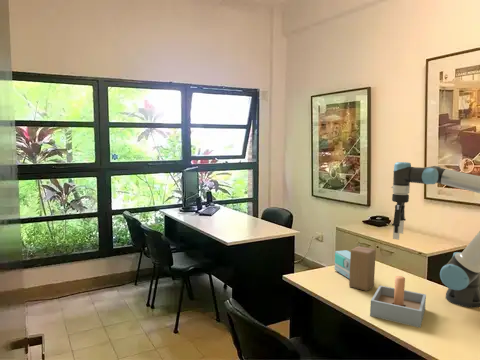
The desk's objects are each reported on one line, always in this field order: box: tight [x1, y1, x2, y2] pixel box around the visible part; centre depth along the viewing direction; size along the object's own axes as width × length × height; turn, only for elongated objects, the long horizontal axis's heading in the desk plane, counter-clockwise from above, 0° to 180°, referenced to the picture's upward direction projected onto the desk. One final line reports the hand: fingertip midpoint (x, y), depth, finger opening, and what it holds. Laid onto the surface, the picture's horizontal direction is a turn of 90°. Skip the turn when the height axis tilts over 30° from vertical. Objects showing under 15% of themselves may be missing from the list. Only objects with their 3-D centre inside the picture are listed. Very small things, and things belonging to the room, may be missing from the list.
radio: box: [334, 243, 361, 280], centre depth 216 cm, size 16×9×20 cm, turn 17°
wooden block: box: [348, 245, 377, 292], centre depth 199 cm, size 10×10×20 cm
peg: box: [394, 275, 406, 306], centre depth 170 cm, size 4×4×16 cm
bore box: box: [369, 285, 427, 328], centre depth 171 cm, size 20×20×7 cm
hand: (398, 236), depth 191 cm, fingers open, 13 cm apart
